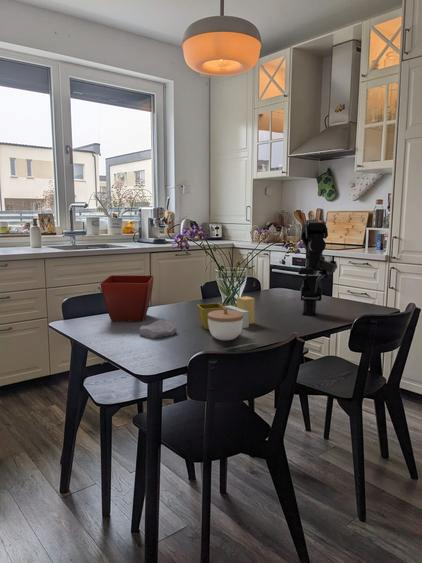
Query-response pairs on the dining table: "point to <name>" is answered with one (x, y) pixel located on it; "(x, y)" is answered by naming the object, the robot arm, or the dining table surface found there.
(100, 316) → the dining table surface
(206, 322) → the flower pot
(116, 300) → the plant pot
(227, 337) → the lidded bowl
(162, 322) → the stone block
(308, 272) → the robot arm
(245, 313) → the wall
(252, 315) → the block
